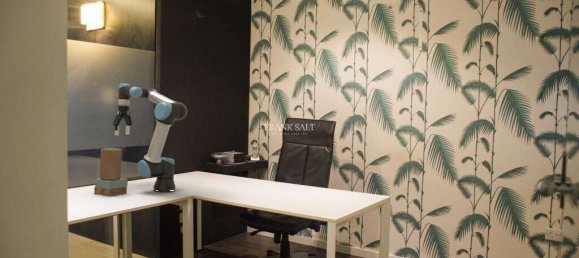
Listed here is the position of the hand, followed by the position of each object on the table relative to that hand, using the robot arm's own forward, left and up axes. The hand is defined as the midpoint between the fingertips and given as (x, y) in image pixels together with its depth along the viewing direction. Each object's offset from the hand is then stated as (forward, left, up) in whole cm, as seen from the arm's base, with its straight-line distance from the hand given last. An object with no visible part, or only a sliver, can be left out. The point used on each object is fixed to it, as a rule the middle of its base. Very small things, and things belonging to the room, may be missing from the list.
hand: (122, 134), depth 309 cm
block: (-11, +28, -27) cm, 41 cm away
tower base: (-11, +28, -37) cm, 48 cm away
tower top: (-11, +27, -32) cm, 44 cm away
